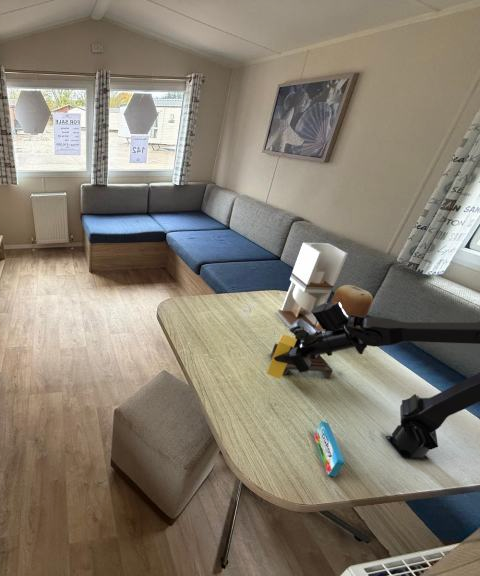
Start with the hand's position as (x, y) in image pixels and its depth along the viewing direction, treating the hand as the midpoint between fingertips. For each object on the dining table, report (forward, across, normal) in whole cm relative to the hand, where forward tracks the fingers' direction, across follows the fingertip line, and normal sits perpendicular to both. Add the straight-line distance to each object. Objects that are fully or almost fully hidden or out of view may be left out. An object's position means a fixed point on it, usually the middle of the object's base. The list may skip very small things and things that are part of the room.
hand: (277, 354), depth 98 cm
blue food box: (-4, +18, +22) cm, 29 cm away
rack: (+4, -17, +14) cm, 22 cm away
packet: (+4, 0, +6) cm, 7 cm away
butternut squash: (-1, -42, +19) cm, 47 cm away
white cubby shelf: (+9, -50, +8) cm, 52 cm away
